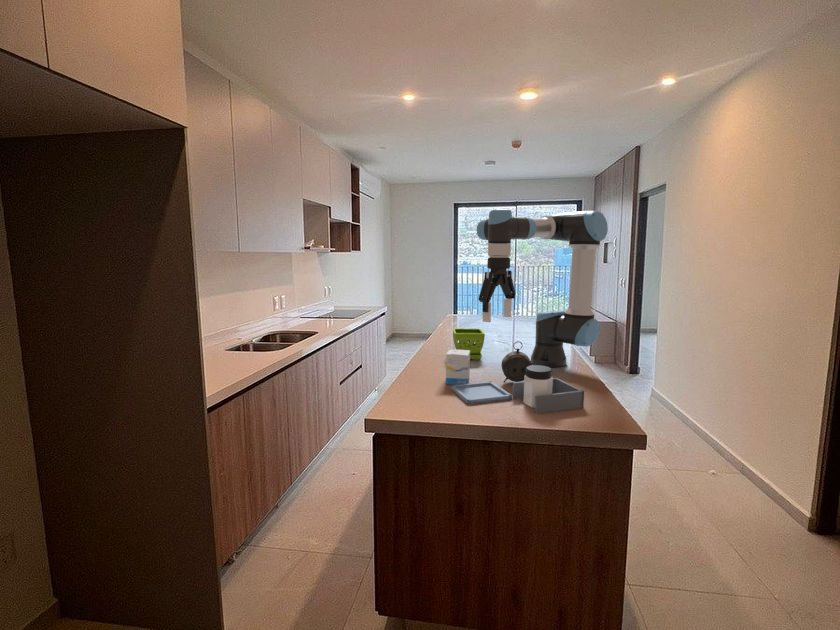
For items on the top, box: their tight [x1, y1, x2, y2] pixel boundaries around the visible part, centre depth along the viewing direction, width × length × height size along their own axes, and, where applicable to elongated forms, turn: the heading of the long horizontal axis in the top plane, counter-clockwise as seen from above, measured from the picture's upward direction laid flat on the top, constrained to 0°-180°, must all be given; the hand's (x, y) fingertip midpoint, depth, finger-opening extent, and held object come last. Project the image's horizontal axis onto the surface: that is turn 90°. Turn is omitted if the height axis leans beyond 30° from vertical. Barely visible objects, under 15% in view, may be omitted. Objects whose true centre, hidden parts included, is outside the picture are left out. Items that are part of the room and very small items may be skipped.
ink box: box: [445, 348, 471, 385], centre depth 164 cm, size 9×8×12 cm
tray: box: [450, 381, 513, 406], centre depth 151 cm, size 16×16×2 cm
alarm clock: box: [501, 341, 533, 383], centre depth 161 cm, size 11×5×16 cm, turn 86°
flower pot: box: [452, 327, 486, 361], centre depth 201 cm, size 14×14×13 cm
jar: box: [523, 364, 554, 409], centre depth 140 cm, size 9×8×12 cm
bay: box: [512, 377, 585, 415], centre depth 142 cm, size 17×15×6 cm
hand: (497, 319), depth 148 cm, fingers open, 13 cm apart
